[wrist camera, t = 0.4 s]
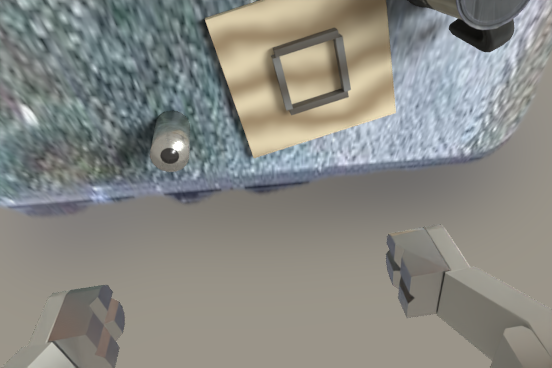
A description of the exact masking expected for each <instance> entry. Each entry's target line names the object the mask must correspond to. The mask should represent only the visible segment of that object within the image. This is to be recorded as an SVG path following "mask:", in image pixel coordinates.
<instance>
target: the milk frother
mask: <svg viewBox="0 0 552 368" xmlns="http://www.w3.org/2000/svg"><path fill="white" fill-rule="evenodd" d="M408 1H409V2H410V3H411V4H413V5H415V6H419V7H428V8H431V9H434V10H437V11H439V12H442V13H444V14H447V15H450V16H453V17H456V18H458V19H457V20H456V21H454V22H453V23H451V24H450V26H449V30H450V31H451V33H452V34H453V35H455V36H456V37H458V38H460V39H462V40H463V41H465V42H467V43H469V44H470V45H472V46H474V47H476V48H477V49H479V50H481V51H483V52H491V51H493V50H495V49H497V48H499V47H500V46H502V45H503V44H505V43H506V42H507V41H509V40H510V39H511V37H512V35H513V33H514V21H513V18H515V17H516V16H517V15H518V14H519V13H520V12H521V11H522V10H523V9H524V8H525V6H526V5H527V4H528V2H529V1H530V0H408Z"/></svg>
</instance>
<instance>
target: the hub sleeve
mask: <svg viewBox="0 0 552 368" xmlns="http://www.w3.org/2000/svg"><path fill="white" fill-rule="evenodd" d="M189 142H190V123H189V121H188V119H187V117H186V116H185V115H183V114H182V113H180V112H178V111H166V112H164V113H162V114H161V115H160V116H159V117H158V118H157V121H156V125H155V131H154V136H153V141H152V146H151V152H150V158H151V160H152V162H153V164H154V165H155V166H156V167H157V168H159V169H161V170H163V171H168V172H173V171H178V170H180V169H182V168H183V167H184V166H185V165H186V164H187V163H188V160H189Z"/></svg>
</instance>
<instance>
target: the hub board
mask: <svg viewBox="0 0 552 368" xmlns="http://www.w3.org/2000/svg"><path fill="white" fill-rule="evenodd" d="M205 22H206V24H207V27H208V30H209V33H210V36H211V38H212V41H213V44H214V47H215V50H216V53H217V55H218V58H219V61H220V64H221V67H222V69H223V72H224V75H225V78H226V81H227V84H228V86H229V89H230V92H231V95H232V98H233V101H234V103H235V106H236V109H237V112H238V115H239V117H240V120H241V123H242V126H243V129H244V132H245V134H246V137H247V140H248V143H249V146H250V148H251V151H252V154H253V157H254V158H256V157H259V156H262V155H265V154H269V153H272V152H275V151H278V150H281V149H284V148H287V147H290V146H294V145H297V144H300V143H303V142H306V141H309V140H312V139H316V138H319V137H322V136H325V135H328V134H331V133H334V132H337V131H341V130H344V129H347V128H350V127H353V126H356V125H359V124H362V123H366V122H369V121H372V120H375V119H378V118H381V117H384V116H387V115H391V114H394V113H396V109H395V98H394V86H393V75H392V63H391V52H390V40H389V29H388V17H387V5H386V0H259V1H256V2H253V3H250V4H247V5H244V6H241V7H238V8H235V9H232V10H229V11H226V12H222V13H219V14H216V15H213V16H210V17H207V18H205Z"/></svg>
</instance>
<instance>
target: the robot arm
mask: <svg viewBox="0 0 552 368" xmlns="http://www.w3.org/2000/svg"><path fill="white" fill-rule="evenodd" d="M387 245H388V247H389V251H388V252H387V253H386V265H387V271H388V274H389V277H390V280H391V282H392V285H393V286H395V287H396V288H398V289H399V293H398V299H399V301H400V303H401V306H402V308H403V310H404V313H405V315H406V317H407V318H411V317H418V316H424V315H431V314H437V315H438V316H439V317H440V318H441V319H442V320H443V321H445V322H446V323H447V324H448V325H449V326H451V327H452V328H453V329H454V330H456V331H457V332H458V333H459V334H460V335H462V336H463V337H464V338H465V339H466V340H468V341H469V342H470V343H471V344H473V345H474V346H475V347H476V348H477V349H479V350H480V351H481V352H482V353H483V354H485V355H486V356H487V357H488V358H490V359H491V360H492V364H491V366H490V368H552V309H551V308H549V307H547V306H545V305H544V304H542V303H540V302H538V301H536V300H535V299H533V298H531V297H529V296H528V295H526V294H524V293H522V292H520V291H519V290H517V289H515V288H513V287H511V286H510V285H508V284H506V283H504V282H503V281H501V280H499V279H497V278H495V277H494V276H492V275H490V274H488V273H486V272H485V271H483V270H481V269H479V268H478V267H470V266H469V264H468V263H467V261H466V260H465V258H464V257H463V255H462V253H461V252H460V251H459V249H458V248H457V246H456V244H455V243H454V241H453V240H452V238H451V237H450V235H449V234H448V232H447V231H446V229H445V228H444V226H442V225H441V224H439V225H434V226H428V227H423V228H416V229H411V230H406V231H401V232H395V233H390V234H388V236H387ZM112 293H113V291H112V290H111V289H110V287H109V286H108V285H101V286H94V287H88V288H81V289H75V290H70V291H63V292H58V293H53V294H52V295H51V296H50V297H49V298H48V299H47V302H46V304H45V306H44V309H43V311H42V313H41V315H40V318H39V320H38V322H37V325H36V327H35V329H34V332H33V334H32V336H31V339H30V341H29V343H28V346H26V347H22V348H21V349H20V350H19V351H18V352H17V353H16V354H14V356H12V357H11V358H10V359H9V360H8V361H7V362H6V363H5V364H4V365H3V366H2V367H1V368H115V365H116V361H117V357H118V352H119V346H118V344H117V342H116V341H117V339H118V338H119V337H120V336H121V335H122V334H123V330H124V325H125V316H124V311H123V307H122V305H121V304H120V302H119V301H117V300H115V299H113V298H111V297H112Z"/></svg>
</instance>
